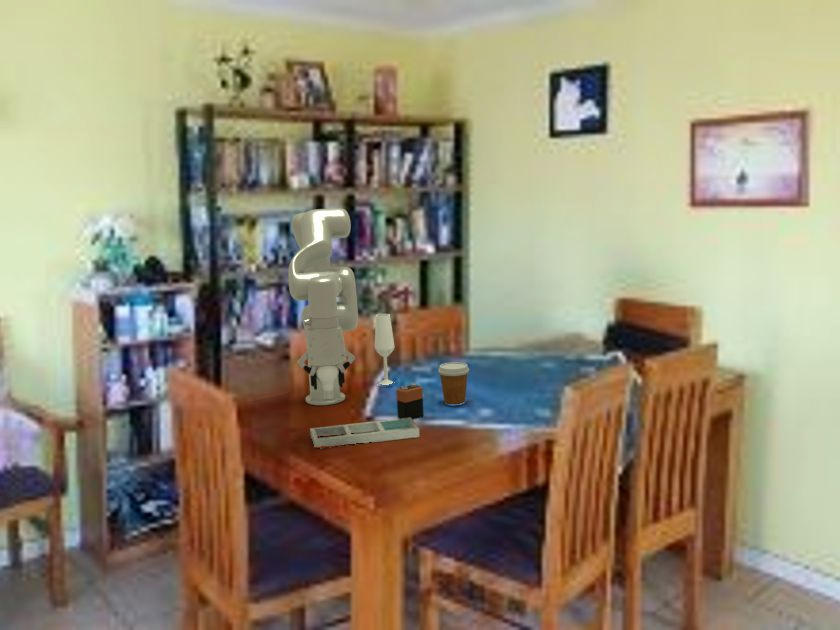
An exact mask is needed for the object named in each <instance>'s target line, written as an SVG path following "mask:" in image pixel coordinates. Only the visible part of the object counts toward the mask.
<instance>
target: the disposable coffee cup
mask: <svg viewBox="0 0 840 630" xmlns="http://www.w3.org/2000/svg"><path fill="white" fill-rule="evenodd" d="M437 371H438V373H439V376H440V383H441V389H442V395H443V401H444V404H445V403H447V404H460V403H463V402H465V403H466V395H467V386H468V385H467V383H468V374H469V372H470V368H469V366H468V364H467V363H465V362H458V361H454V362H453V361H452V362H445V363H441V364H440V365H439V367H438V370H437Z"/></svg>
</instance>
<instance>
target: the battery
mask: <svg viewBox="0 0 840 630" xmlns="http://www.w3.org/2000/svg"><path fill="white" fill-rule="evenodd" d="M423 394H424V393H423V387H422V386H420V385H418V382H411V383H409V385H402V386H401V387H397V388H396V407H397V408H396V409H397V419H400V418H409V417H411V418H412V420H414V418H415V419H418V418H417V417H419V418H421V417H420V416H422V417H424V396H423Z"/></svg>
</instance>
